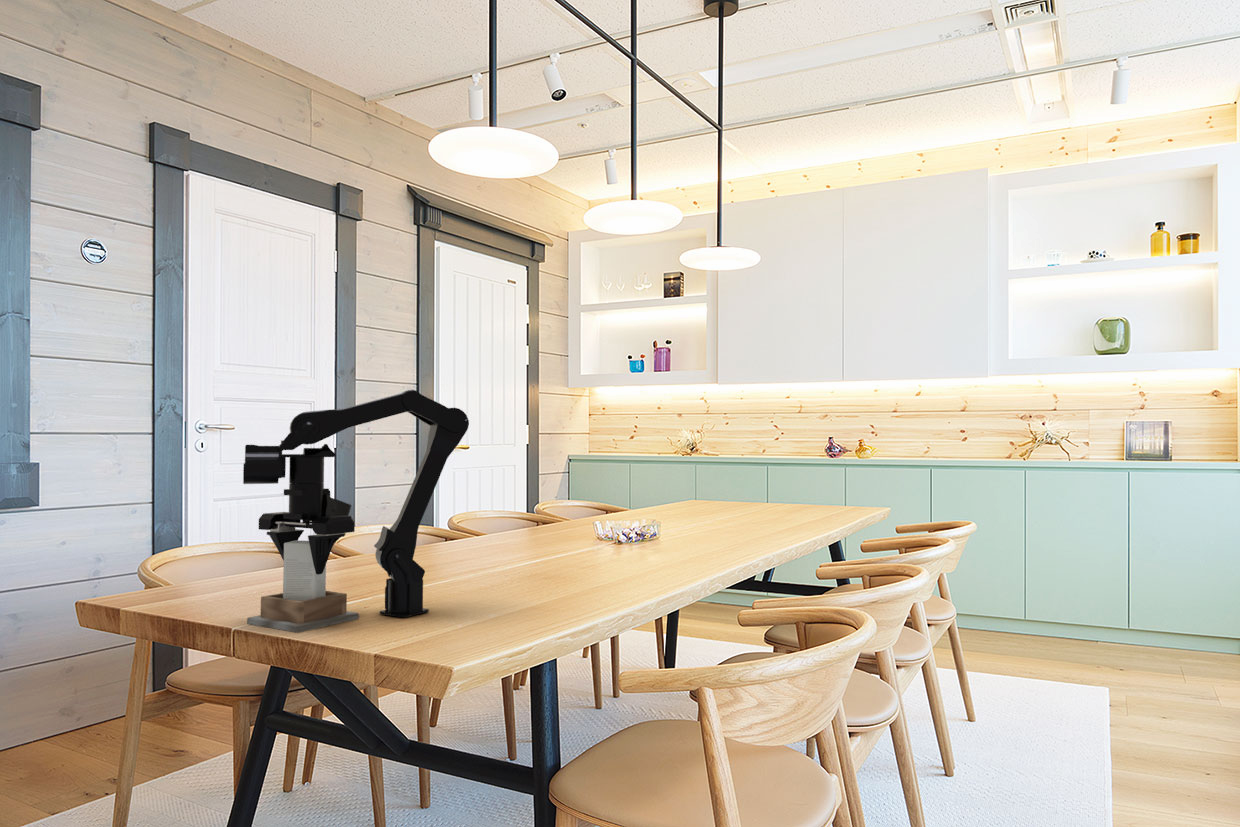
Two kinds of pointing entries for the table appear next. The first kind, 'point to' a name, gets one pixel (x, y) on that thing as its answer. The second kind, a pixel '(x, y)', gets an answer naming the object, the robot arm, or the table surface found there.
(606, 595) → the table surface
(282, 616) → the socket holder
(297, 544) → the skincare box
